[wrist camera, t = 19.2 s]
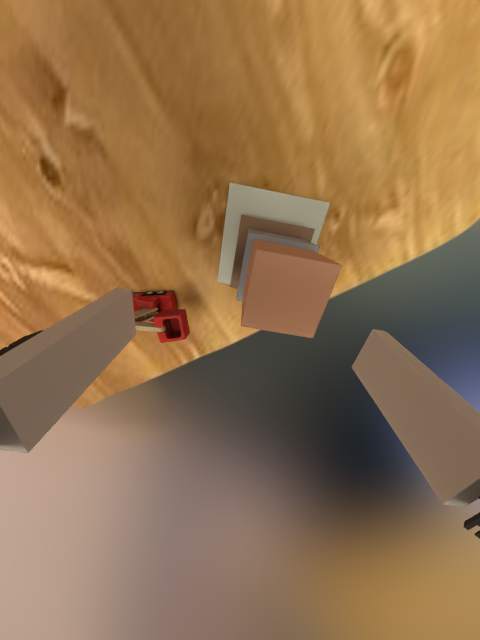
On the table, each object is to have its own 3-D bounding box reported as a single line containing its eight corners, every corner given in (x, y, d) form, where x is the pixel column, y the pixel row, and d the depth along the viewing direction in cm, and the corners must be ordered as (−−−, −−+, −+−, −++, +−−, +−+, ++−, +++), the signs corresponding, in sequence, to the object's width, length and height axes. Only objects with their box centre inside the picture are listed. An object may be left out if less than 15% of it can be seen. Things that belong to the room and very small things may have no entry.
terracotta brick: (253, 238, 17) (256, 249, 11) (312, 250, 17) (341, 265, 12) (242, 295, 19) (241, 325, 14) (294, 304, 19) (312, 338, 14)
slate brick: (248, 228, 22) (248, 232, 17) (302, 239, 22) (319, 246, 17) (238, 281, 25) (236, 300, 19) (287, 290, 25) (297, 311, 20)
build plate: (230, 183, 24) (229, 182, 23) (327, 203, 25) (330, 202, 24) (218, 280, 30) (217, 282, 29) (297, 294, 30) (299, 297, 29)
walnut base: (242, 214, 25) (241, 214, 21) (305, 227, 25) (315, 228, 22) (232, 278, 29) (229, 286, 25) (287, 288, 29) (293, 298, 25)
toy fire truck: (110, 292, 31) (59, 321, 23) (198, 288, 31) (179, 316, 22) (118, 312, 33) (72, 346, 24) (202, 308, 32) (185, 342, 23)
